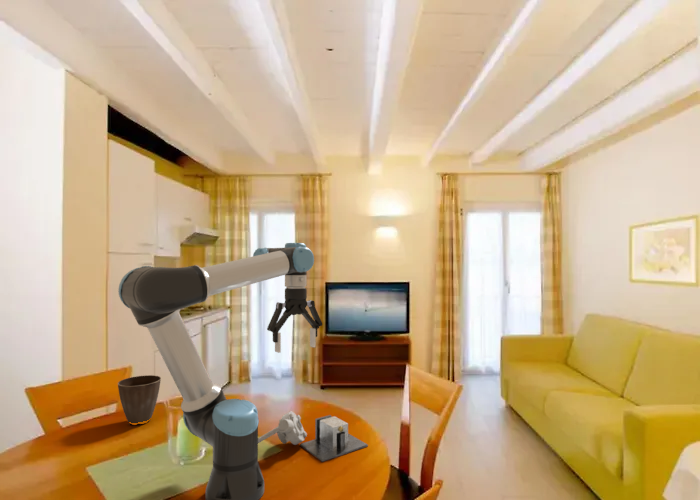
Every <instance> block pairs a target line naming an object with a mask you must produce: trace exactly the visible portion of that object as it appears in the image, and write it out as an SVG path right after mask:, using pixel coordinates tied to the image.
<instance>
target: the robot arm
mask: <svg viewBox="0 0 700 500" xmlns="http://www.w3.org/2000/svg"><path fill="white" fill-rule="evenodd" d="M314 263H315V256H314V253H313V251H312V250H311V249H310V248H309V247H307V245H306V243H303V242H286V243H285V244H284V247H258V248H257V249H255V251H254V252H253V255H252V256H250V257H244V258H241V259H234V260H231V261H225V262H222V263H221V262H220V263H218V264H213V265H209V266H204V267H200V266H199V265H198V264H195V265H191V266H182V267H166V266H164V267H163V266H157V267H156V266H150V265H148V266H147V265H145V266H140V267H136V268H133V269H131V270H129V271H128V272H127V273H126V274H124V276H123V277H122V278H121V280H120V282H119V285H118V288H117V289H118V290H117V291H118V297H119V299H120V301H121V302H122V304H123V305H124V306H125V307H126V308H127V309H130V311H131V313H132V315H133V317H134V319H135V320H136V322H137V324H138V326H140V327H143V328H144V327H145V328H147V330H148V332H149V334H150V336H151V337H152V339H153V342H154V344H155V345H156V348H157V350H158V351H159V353H160V356H161V357H162V360H163V362H164V364H165V365H166V367H167V369H168V372H169V373H170V375H171V377H172V379H173V381H174V384H175V385H176V387H177V389H178V391H179V393H180V396H181V398H182V399H183V400H182V402H181V404H180V408H181V410H182V412H183V415H182V419H183V423H184V426H185V427H186V428H187V430H188V431H189V433H190V434H192V435H193V436H195V437H198V438H199V439H200V440H202V441H204V442H205V443H207V444H208V445H210V446H212V468H211V472H210V475H209V478H208V481H207V484H206V487H205V500H260V499H261V498H262V497H263V495H264V493H265V479H264V476H263V472H262V470H261V468H260V463H259V459H258V458H259V456H258V455H259V454H258V453H259V443H258V438H259V422H260V421H259V414H258V413H259V411H258V408H257V406H256V405H255V404H254V403H253V402H252V401H250V400H247V399H240V398H228V399H227V398H226V396H225V393H224V390H223V389H222V387H221V385H220V384H219V383H216V382H213V381H212V379H211V377H210V375H209V373H208V370H207V369H206V366H205V364H204V362H203V360H202V357H201V356H200V353H199V352H198V349H197V347H196V345H195V343H194V341H193V339H192V336H191V335H190V333H189V330H188V328H187V326H186V324H185V321H184V320H183V318H182V316H181V314H180V312H181V310H183V309H185V308H188V307H191V306H195V305H197V304H200V303H204V302H206V301H208V298H209V297H211V296H214V295H218V294H222V293H224V292H228V291H232V290H236V289H239V288H242V287H246V286H250V285H254V284H257V283H261V282H264V281H267V280H272V279H274V278H278V277H282V276H284V287H285V288H284V303H283V302H278V301H277V302H276V304H275V309H274V312H273V314H272V316H271V319H270V321H269V324H268V326H267V328H266V329H267V331H268V332H271V333H272V342H273V343H274V351H275V352H276V353H278V354H279V353H281V350H282V349H281V347H282V345H281V343H282V341H281V340H282V339H281V332H280V331H281V329H282V328H283V326H284V325H285V323H286V322H287V320H288V319H289V318H290V317H291V316H296V315H302V316H303V317H304V319H305V320H306V321H307V323H309V325H310V326H311V327H310V328H309V347H310V348H316V346H317V344H316V343H317V339H316V338H317V337H318V329H320V327H322V326H323V322H322V320H321V317H320V315H319V313H318V310H317V308H316V302H315V301H314V300H311V299H309V300H307V296H308V295H307V294H308V293H307V289H308V288H307V282H308V281H307V277H308V276H307V275H308V273H307V272H308V271H309V272H310V270H311V269H312V268H313V266H314ZM307 307H308V309H309V311H310V313H309V311H308V310H307ZM283 310H284V311H283ZM282 311H283V313H282ZM281 314H282V315H281ZM310 314H311V315H310ZM280 316H281V317H280Z"/></svg>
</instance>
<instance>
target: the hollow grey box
mask: <svg viewBox="0 0 700 500" xmlns="http://www.w3.org/2000/svg"><path fill="white" fill-rule="evenodd" d="M340 432H342V433H343V434H344V447H347V446H348V434H349V423H348V422H346V421H344V420H342V419H341V418H338V417H337V416H335V415H334V416H331V417H330V418H326V419H322V420H320V443H321V444H323V445H324V446H326V447H327V448H329V449H330V450H332V451H335V450H337V433H340Z"/></svg>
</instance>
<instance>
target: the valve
mask: <svg viewBox="0 0 700 500" xmlns="http://www.w3.org/2000/svg"><path fill="white" fill-rule="evenodd" d="M301 419H302V417H301V416H300V414H296V413H295V412H294V411H292V410H291V411H288V412H287V413H285V414H284V415H282V416H281V418H280V419H279V423H278V425H277V427H274V428H273V429H271V430H269V431H267V433H265V434H263V435H261V436H260V437H259V436H258V444H260V443H261V442H263V441H264V440H265V441H266V439H268V438H270V437H272V436H273V435H275V434H277V437H278V439H279V440H280V442H281V443H282V444H287V443H288V442H290V443H291V444H292V445H294V446H296V445H298V444H301V443H303V441H305V439H306V437H308V436H307V435H308V433H307V432H306V431H305V429H304V427H303V424H302V423H301Z"/></svg>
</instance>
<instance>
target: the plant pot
mask: <svg viewBox="0 0 700 500" xmlns="http://www.w3.org/2000/svg"><path fill="white" fill-rule="evenodd" d="M161 380H162V378H161V376H158V375H153V374H151V375H146V374H145V375H137V376H131V377H127V378H123V379H122V380H120V381H118V382H117V388H118V393H119V399H120V403H121V408H122V410H123V413H124V416H125V418H126V420H127V422H131V423H138V422H143V421H147V420H149V419H150V418H151V419H152V416H153V414H154V411H155V408H156V405H157V401H158V397H159V391H160V387H161Z"/></svg>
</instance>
